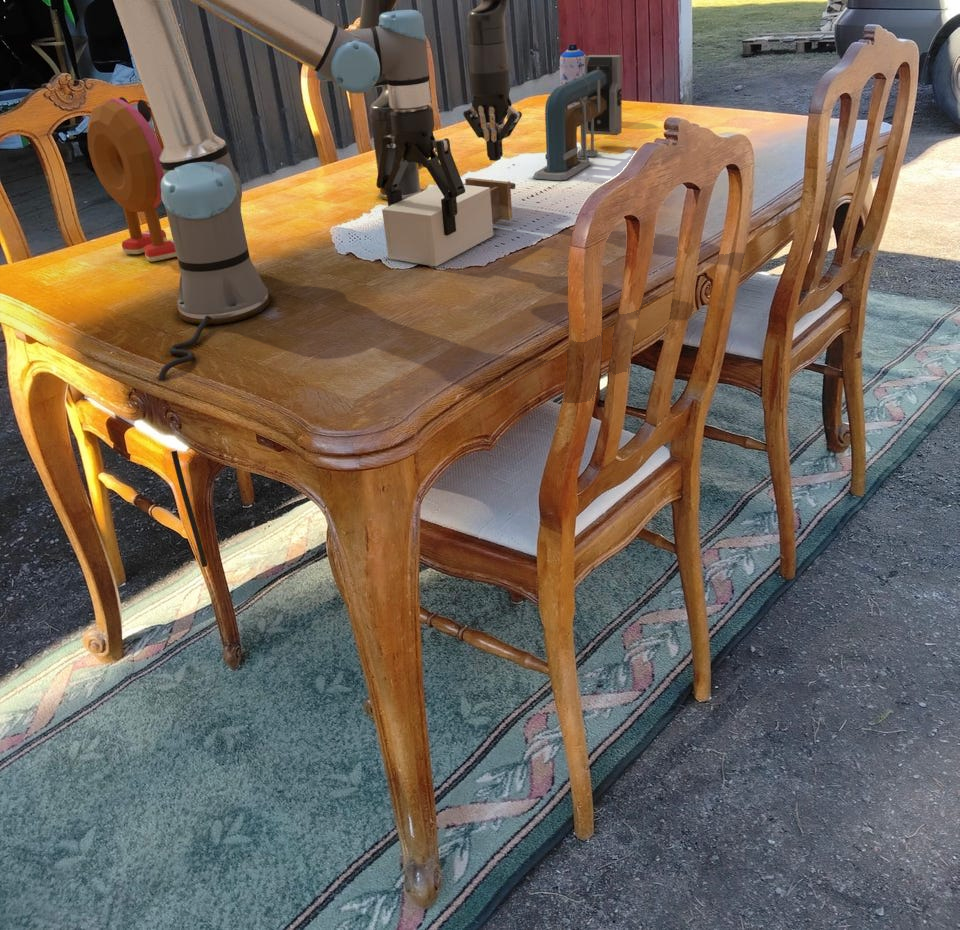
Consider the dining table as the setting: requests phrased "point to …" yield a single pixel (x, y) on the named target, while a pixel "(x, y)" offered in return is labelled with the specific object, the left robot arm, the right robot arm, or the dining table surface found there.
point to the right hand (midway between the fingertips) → (495, 159)
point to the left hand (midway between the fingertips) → (424, 229)
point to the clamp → (582, 116)
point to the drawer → (496, 197)
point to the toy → (130, 171)
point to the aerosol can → (572, 66)
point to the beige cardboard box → (436, 226)
